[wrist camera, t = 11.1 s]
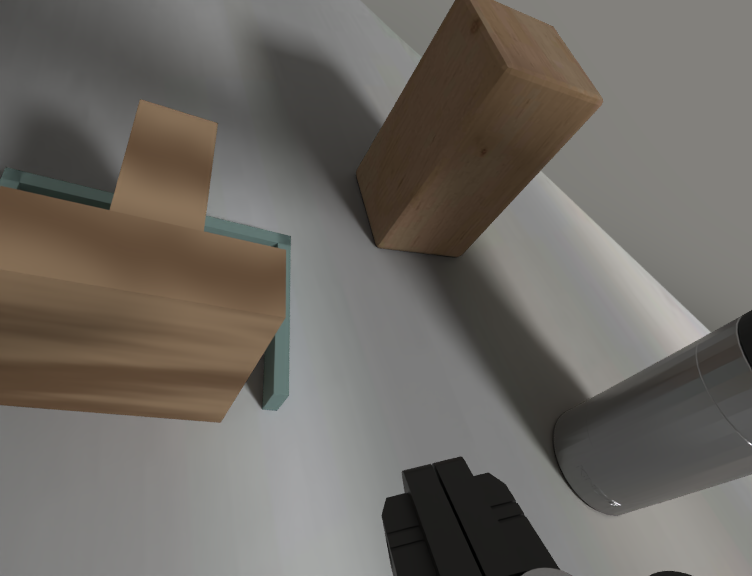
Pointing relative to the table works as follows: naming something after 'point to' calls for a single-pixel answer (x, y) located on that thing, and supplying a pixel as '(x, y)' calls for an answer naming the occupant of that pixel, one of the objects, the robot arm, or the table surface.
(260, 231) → the dock
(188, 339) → the t block
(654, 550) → the table surface
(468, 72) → the wooden block
